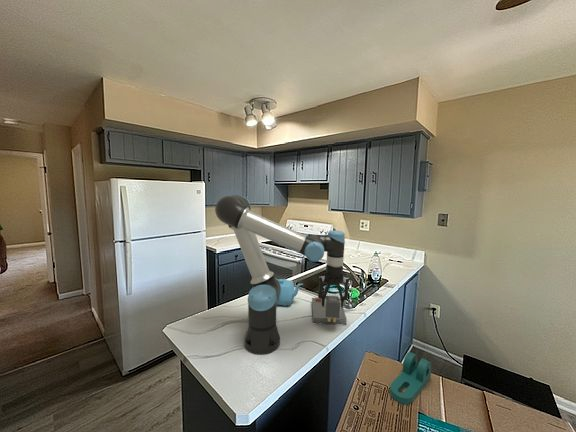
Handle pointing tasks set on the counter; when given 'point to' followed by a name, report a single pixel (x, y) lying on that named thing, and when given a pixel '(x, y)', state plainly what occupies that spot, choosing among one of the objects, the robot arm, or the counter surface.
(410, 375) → the bracket
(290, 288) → the teapot
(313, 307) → the socket
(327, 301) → the plug
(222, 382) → the counter surface
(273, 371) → the counter surface
